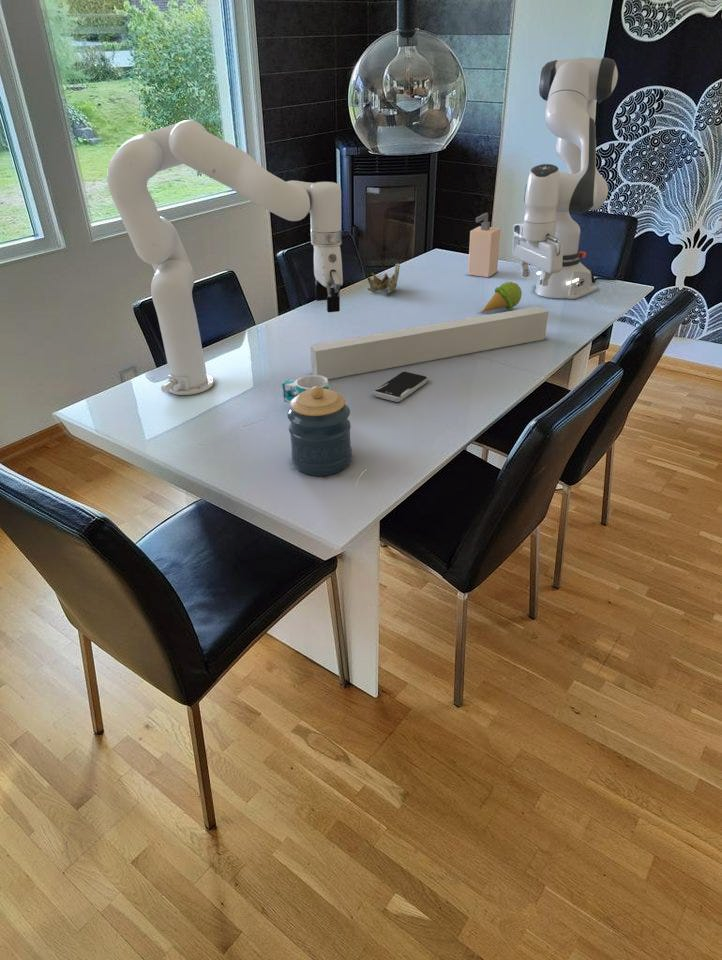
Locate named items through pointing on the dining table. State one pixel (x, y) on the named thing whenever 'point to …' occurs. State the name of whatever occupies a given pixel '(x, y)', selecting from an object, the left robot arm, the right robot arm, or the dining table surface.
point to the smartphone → (400, 386)
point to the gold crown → (384, 281)
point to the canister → (320, 432)
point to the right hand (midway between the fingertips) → (534, 280)
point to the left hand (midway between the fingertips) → (327, 305)
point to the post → (427, 342)
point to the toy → (504, 297)
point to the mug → (302, 386)
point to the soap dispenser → (483, 248)
